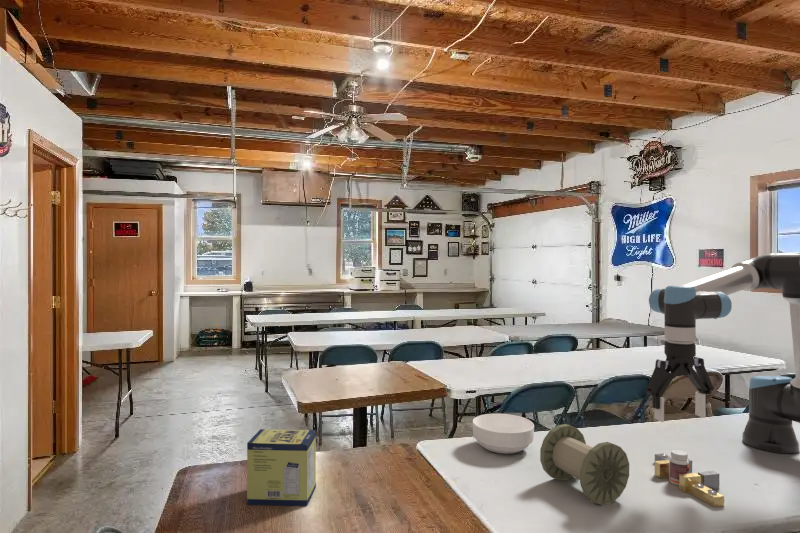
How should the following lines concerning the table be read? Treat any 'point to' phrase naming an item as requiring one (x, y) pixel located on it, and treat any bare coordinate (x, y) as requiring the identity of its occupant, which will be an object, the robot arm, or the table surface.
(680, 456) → the pill bottle
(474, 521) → the table surface
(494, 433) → the bowl
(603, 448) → the spool
